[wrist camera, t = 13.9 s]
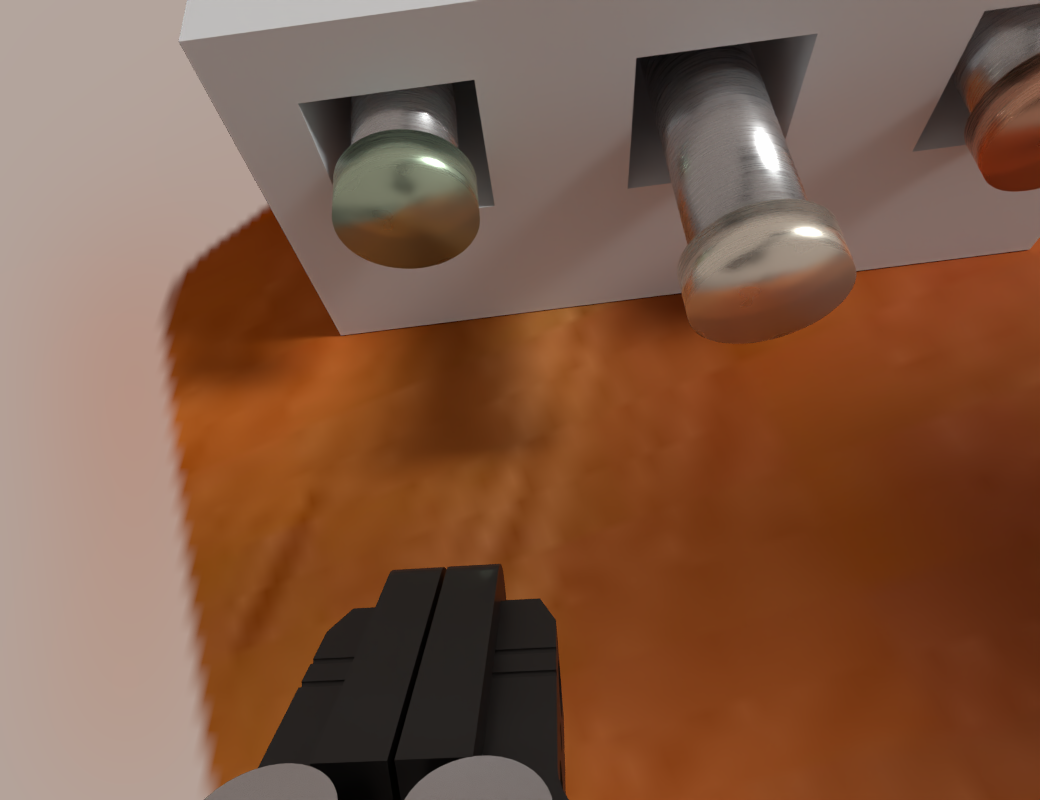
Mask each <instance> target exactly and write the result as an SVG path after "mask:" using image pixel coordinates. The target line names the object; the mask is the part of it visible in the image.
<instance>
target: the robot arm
mask: <svg viewBox="0 0 1040 800" xmlns="http://www.w3.org/2000/svg"><path fill="white" fill-rule="evenodd" d="M204 800H569V799H568V798H567V796H566V791H565V754H564V715H563V703H562V691H561V678H560V666H559V653H558V641H557V629H556V620H555V618H554V617H553V616H552V614H551V613H550V612H549V610H548V609H547V608H546V606H545V605H544V604H543V602H542V601H541V599H524V600H506V593H505V583H504V575H503V569H502V566H501V564H489V565H471V566H453V567H448V568H447V569H446V568H445V567H439V568H421V569H403V570H392V571H391V572H390V574H389V576H388V579H387V581H386V583H385V586H384V588H383V590H382V593H381V595H380V598H379V600H378V602H377V605H376V607H375V608H357V609H353V610H351V611H350V612H349V613H348V614H347V615H346V616H345V617H343V618H342V619H341V620H340V621H339V622H338V623H337V624H335V625H334V626H333V627H332V628H331V629H330V630H329V631H328V632H327V633H326V635H325V637H324V639H323V641H322V643H321V645H320V647H319V649H318V651H317V653H316V655H315V657H314V658H313V664H310V666H309V668H308V670H307V672H306V674H305V676H304V678H303V680H302V687H301V688H298V690H297V692H296V694H295V696H294V698H293V700H292V702H291V704H290V706H289V708H288V710H287V712H286V714H285V716H284V718H283V720H282V722H281V724H280V726H279V728H278V730H277V732H276V734H275V735H274V737H273V739H272V741H271V743H270V745H269V747H268V749H267V751H266V753H265V755H264V757H263V759H262V761H261V763H260V765H259V767H258V769H254V770H252V771H249V772H247V773H244V774H242V775H240V776H238V777H236V778H234V779H232V780H230V781H228V782H227V783H225V784H224V785H222V786H221V787H219V788H218V789H216V790H215V791H214V792H212V793H211V794H210V795H209V796H208V797H206V798H205V799H204Z"/></svg>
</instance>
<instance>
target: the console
mask: <svg viewBox="0 0 1040 800" xmlns="http://www.w3.org/2000/svg"><path fill="white" fill-rule="evenodd" d="M1032 4H1040V0H187V3H186V8H185V13H184V18H183V23H182V28H181V33H180V38H179V43H180V45H181V47H182V49H183V50H184V52H185V54H186V56H187V58H188V59H189V61H190V63H191V65H192V67H193V68H194V70H195V72H196V74H197V76H198V77H199V79H200V81H201V83H202V85H203V87H204V88H205V90H206V92H207V94H208V96H209V97H210V99H211V101H212V103H213V105H214V106H215V108H216V110H217V112H218V114H219V115H220V117H221V119H222V121H223V123H224V125H225V126H226V128H227V130H228V132H229V134H230V136H231V137H232V139H233V141H234V143H235V145H236V146H237V148H238V150H239V152H240V154H241V155H242V157H243V159H244V161H245V163H246V164H247V166H248V168H249V170H250V172H251V174H252V175H253V177H254V179H255V181H256V183H257V184H258V186H259V188H260V190H261V192H262V193H263V195H264V197H265V199H266V201H267V203H268V204H269V206H270V208H271V210H272V212H273V213H274V215H275V217H276V219H277V221H278V222H279V224H280V226H281V228H282V230H283V232H284V233H285V235H286V237H287V239H288V241H289V242H290V244H291V246H292V248H293V250H294V251H295V253H296V255H297V257H298V259H299V261H300V262H301V264H302V266H303V268H304V270H305V271H306V273H307V275H308V277H309V279H310V280H311V282H312V284H313V286H314V288H315V289H316V291H317V293H318V295H319V297H320V299H321V300H322V302H323V304H324V306H325V308H326V309H327V311H328V313H329V315H330V317H331V318H332V320H333V322H334V324H335V326H336V328H337V329H338V331H339V333H340V335H349V334H357V333H365V332H373V331H381V330H389V329H397V328H405V327H413V326H421V325H429V324H437V323H445V322H453V321H461V320H469V319H477V318H485V317H493V316H501V315H509V314H517V313H525V312H533V311H541V310H549V309H557V308H565V307H573V306H581V305H589V304H597V303H605V302H613V301H621V300H629V299H637V298H645V297H653V296H661V295H669V294H677V293H681V289H680V285H679V281H678V276H677V265H678V262H679V259H680V256H681V254H682V252H683V251H684V249H685V248H686V246H687V241H686V237H685V233H684V230H683V226H682V222H681V218H680V214H679V210H678V207H677V203H676V199H675V195H674V191H673V187H672V184H671V180H670V176H669V172H668V168H667V164H666V160H665V157H664V153H663V149H662V145H661V141H660V137H659V134H658V130H657V126H656V122H655V118H654V114H653V111H652V107H651V103H650V99H649V95H648V91H647V87H646V84H645V80H644V76H643V72H642V68H641V64H640V61H639V57H647V56H654V55H662V54H669V53H676V52H684V51H691V50H699V49H706V48H713V47H721V46H728V45H736V44H743V43H749V45H750V48H751V50H752V53H753V56H754V58H755V61H756V64H757V66H758V69H759V72H760V74H761V77H762V80H763V82H764V85H765V88H766V90H767V93H768V96H769V98H770V101H771V104H772V106H773V109H774V112H775V114H776V117H777V119H778V122H779V125H780V127H781V130H782V133H783V135H784V138H785V141H786V143H787V146H788V149H789V151H790V154H791V157H792V159H793V162H794V165H795V167H796V170H797V173H798V175H799V178H800V181H801V183H802V186H803V189H804V191H805V194H806V197H807V199H808V201H811V202H815V203H817V204H820V205H822V206H824V207H825V208H827V209H828V210H830V211H831V212H832V213H833V214H834V216H835V217H836V219H837V221H838V224H839V226H840V229H841V231H842V234H843V236H844V239H845V241H846V244H847V246H848V249H849V251H850V254H851V256H852V259H853V262H854V264H855V267H856V271H861V270H869V269H877V268H885V267H893V266H901V265H909V264H917V263H925V262H933V261H941V260H949V259H957V258H965V257H973V256H981V255H989V254H997V253H1005V252H1013V251H1021V250H1029V249H1030V248H1031V247H1032V246H1033V244H1034V243H1035V242H1036V241H1037V240H1038V238H1039V237H1040V188H1039V189H1034V190H1029V191H1019V192H1011V191H1002V190H999V189H996V188H994V187H992V186H990V185H989V184H988V183H987V182H986V180H985V179H984V177H983V175H982V173H981V171H980V170H979V168H978V166H977V164H976V162H975V160H974V159H973V157H972V155H971V153H970V151H969V149H968V147H967V146H966V143H965V140H964V130H965V125H966V122H967V119H968V117H969V115H970V112H969V110H968V109H967V107H966V105H965V103H964V101H963V100H962V98H961V96H960V94H959V93H958V91H957V89H956V87H955V85H954V84H953V82H952V80H951V78H950V77H951V75H952V73H953V71H954V70H955V68H956V66H957V64H958V62H959V60H960V58H961V56H962V54H963V52H964V50H965V48H966V46H967V44H968V42H969V40H970V38H971V36H972V34H973V33H974V31H975V29H976V27H977V25H978V23H979V21H980V19H981V17H982V15H983V13H984V11H988V10H995V9H1002V8H1010V7H1017V6H1025V5H1032ZM447 83H454V91H455V104H456V118H457V131H458V145H459V149H460V150H461V151H462V152H463V153H464V154H465V155H466V156H467V158H468V159H469V161H470V162H471V164H472V166H473V168H474V170H475V174H476V178H477V189H478V201H479V212H480V226H479V230H478V233H477V235H476V237H475V239H474V240H473V242H472V243H471V244H470V245H469V246H468V248H467V249H466V250H464V251H463V252H462V253H461V254H459V255H458V256H456V257H454V258H453V259H450V260H448V261H446V262H444V263H441V264H438V265H434V266H430V267H425V268H415V269H402V268H392V267H386V266H383V265H379V264H376V263H373V262H370V261H368V260H366V259H363V258H362V257H360V256H358V255H356V254H355V253H354V252H352V251H351V250H350V249H348V248H347V247H346V246H345V245H344V244H343V243H342V241H341V240H340V239H339V237H338V236H337V234H336V232H335V230H334V227H333V223H332V197H333V174H334V170H335V166H336V164H337V162H338V160H339V158H340V157H341V155H342V154H343V153H344V152H345V150H346V149H347V148H348V147H350V146H351V111H352V96H358V95H365V94H373V93H380V92H387V91H395V90H402V89H410V88H417V87H424V86H432V85H439V84H447Z"/></svg>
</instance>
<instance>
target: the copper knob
mask: <svg viewBox="0 0 1040 800" xmlns="http://www.w3.org/2000/svg"><path fill="white" fill-rule="evenodd" d="M950 78H951V80H952V82H953V84H954V85H955V87H956V89H957V91H958V93H959V94H960V96H961V98H962V100H963V101H964V103H965V105H966V107H967V109H968V110H969V112H970V115H969V117H968V119H967V122H966V125H965V130H964V140H965V143H966V146H967V147H968V149H969V151H970V153H971V155H972V157H973V159H974V160H975V162H976V164H977V166H978V168H979V170H980V171H981V173H982V175H983V177H984V179H985V180H986V182H987V183H988V184H989V185H990V186H992V187H994V188H996V189H999V190H1002V191H1011V192H1019V191H1029V190H1034V189H1039V188H1040V4H1032V5H1025V6H1017V7H1010V8H1002V9H995V10H988V11H984V13H983V15H982V17H981V19H980V21H979V23H978V25H977V27H976V29H975V31H974V33H973V34H972V36H971V38H970V40H969V42H968V44H967V46H966V48H965V50H964V52H963V54H962V56H961V58H960V60H959V62H958V64H957V66H956V68H955V70H954V71H953V73H952V75H951V77H950Z"/></svg>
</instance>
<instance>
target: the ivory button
mask: <svg viewBox="0 0 1040 800" xmlns="http://www.w3.org/2000/svg"><path fill="white" fill-rule="evenodd" d="M639 61H640V64H641V68H642V72H643V76H644V80H645V84H646V87H647V91H648V95H649V99H650V103H651V107H652V111H653V114H654V118H655V122H656V126H657V130H658V134H659V137H660V141H661V145H662V149H663V153H664V157H665V160H666V164H667V168H668V172H669V176H670V180H671V184H672V187H673V191H674V195H675V199H676V203H677V207H678V210H679V214H680V218H681V222H682V226H683V230H684V233H685V237H686V241H687V246H686V248H685V249H684V251H683V252H682V254H681V256H680V259H679V262H678V265H677V276H678V281H679V285H680V289H681V293H682V297H683V301H684V305H685V309H686V314H687V318H688V321H689V324H690V326H691V327H692V328H693V330H694V331H695V332H696V333H698V334H699V335H701V336H702V337H704V338H707V339H709V340H713V341H716V342H722V343H732V344H744V343H754V342H761V341H766V340H771V339H775V338H778V337H782V336H785V335H788V334H791V333H793V332H796V331H798V330H801V329H803V328H805V327H807V326H809V325H811V324H813V323H815V322H816V321H818V320H820V319H821V318H823V317H824V316H826V315H827V314H829V313H830V312H831V311H833V310H834V309H835V308H836V307H837V306H838V305H839V304H841V303H842V302H843V300H844V299H845V298H846V297H847V296H848V294H849V293H850V291H851V290H852V288H853V285H854V283H855V280H856V267H855V264H854V262H853V259H852V256H851V254H850V251H849V249H848V246H847V244H846V241H845V239H844V236H843V234H842V231H841V229H840V226H839V224H838V221H837V219H836V217H835V216H834V214H833V213H832V212H831V211H830V210H828V209H827V208H825V207H824V206H822V205H820V204H817V203H815V202H811V201H808V199H807V197H806V194H805V191H804V189H803V186H802V183H801V181H800V178H799V175H798V173H797V170H796V167H795V165H794V162H793V159H792V157H791V154H790V151H789V149H788V146H787V143H786V141H785V138H784V135H783V133H782V130H781V127H780V125H779V122H778V119H777V117H776V114H775V112H774V109H773V106H772V104H771V101H770V98H769V96H768V93H767V90H766V88H765V85H764V82H763V80H762V77H761V74H760V72H759V69H758V66H757V64H756V61H755V58H754V56H753V53H752V50H751V48H750V45H749V43H743V44H736V45H728V46H721V47H713V48H706V49H699V50H691V51H684V52H676V53H669V54H662V55H654V56H647V57H639Z"/></svg>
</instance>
